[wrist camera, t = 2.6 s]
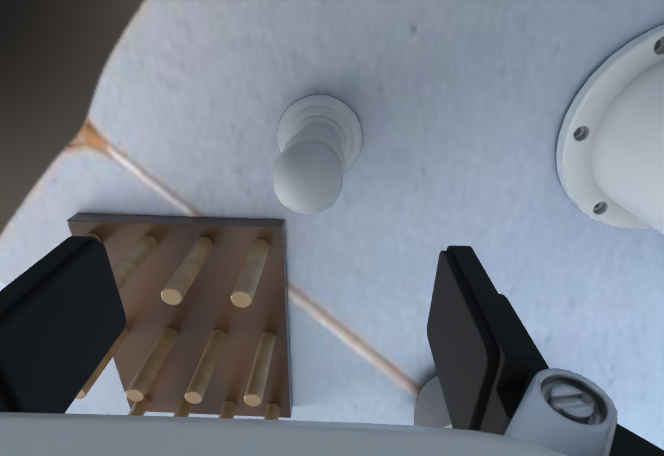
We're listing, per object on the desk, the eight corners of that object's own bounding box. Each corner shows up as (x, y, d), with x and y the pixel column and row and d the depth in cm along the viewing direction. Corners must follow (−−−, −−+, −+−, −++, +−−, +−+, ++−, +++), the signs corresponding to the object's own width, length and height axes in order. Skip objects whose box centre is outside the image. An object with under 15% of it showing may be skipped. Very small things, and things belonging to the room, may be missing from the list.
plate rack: (284, 219, 27) (266, 279, 21) (292, 406, 37) (281, 486, 30) (76, 212, 28) (-4, 269, 21) (137, 399, 37) (93, 477, 31)
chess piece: (281, 176, 26) (252, 244, 18) (275, 93, 23) (239, 129, 15) (361, 177, 26) (367, 245, 18) (363, 93, 23) (372, 130, 15)
